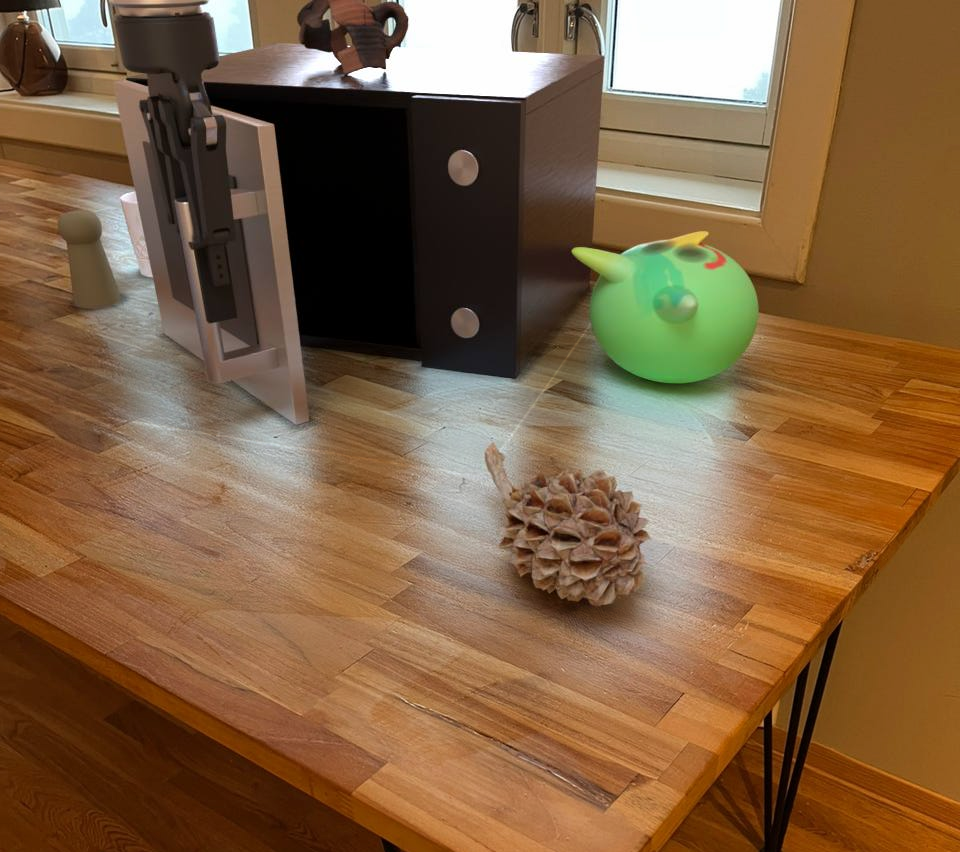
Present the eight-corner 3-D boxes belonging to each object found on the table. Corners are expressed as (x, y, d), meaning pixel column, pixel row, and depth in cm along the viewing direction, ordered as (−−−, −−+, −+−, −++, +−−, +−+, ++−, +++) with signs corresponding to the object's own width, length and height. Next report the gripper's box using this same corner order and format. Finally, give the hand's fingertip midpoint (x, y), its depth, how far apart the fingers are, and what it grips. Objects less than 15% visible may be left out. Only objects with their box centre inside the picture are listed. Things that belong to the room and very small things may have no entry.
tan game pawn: (130, 295, 129) (110, 207, 122) (108, 309, 124) (86, 219, 117) (88, 292, 130) (66, 205, 123) (65, 307, 125) (41, 217, 118)
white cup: (204, 270, 137) (191, 195, 131) (155, 283, 133) (139, 206, 126) (173, 259, 141) (159, 186, 135) (125, 271, 137) (108, 196, 131)
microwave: (513, 382, 105) (518, 101, 88) (164, 337, 116) (111, 80, 100) (589, 285, 131) (604, 55, 115) (299, 256, 143) (275, 43, 126)
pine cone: (681, 619, 70) (699, 498, 64) (571, 660, 66) (580, 536, 60) (520, 492, 85) (523, 385, 79) (424, 520, 81) (419, 410, 75)
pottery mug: (320, 82, 101) (288, -1, 99) (320, 113, 110) (290, 38, 108) (425, 43, 102) (396, -40, 100) (416, 77, 111) (389, 2, 109)
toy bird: (774, 377, 106) (801, 237, 97) (682, 424, 96) (703, 273, 87) (644, 336, 116) (657, 205, 107) (549, 374, 106) (555, 235, 97)
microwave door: (231, 444, 93) (177, 136, 76) (107, 347, 113) (44, 87, 97) (309, 421, 97) (274, 124, 80) (176, 331, 117) (127, 80, 101)
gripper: (248, 13, 71) (289, 329, 85) (173, 2, 81) (221, 287, 95) (149, 19, 68) (209, 347, 82) (84, 7, 78) (147, 301, 92)
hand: (215, 314), depth 89 cm, fingers open, 2 cm apart
